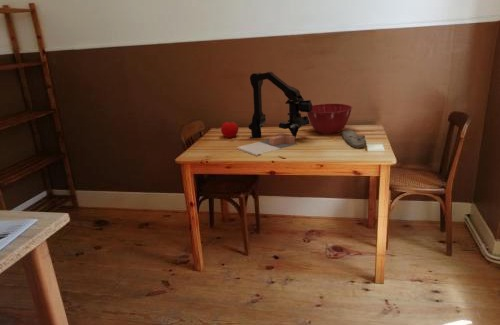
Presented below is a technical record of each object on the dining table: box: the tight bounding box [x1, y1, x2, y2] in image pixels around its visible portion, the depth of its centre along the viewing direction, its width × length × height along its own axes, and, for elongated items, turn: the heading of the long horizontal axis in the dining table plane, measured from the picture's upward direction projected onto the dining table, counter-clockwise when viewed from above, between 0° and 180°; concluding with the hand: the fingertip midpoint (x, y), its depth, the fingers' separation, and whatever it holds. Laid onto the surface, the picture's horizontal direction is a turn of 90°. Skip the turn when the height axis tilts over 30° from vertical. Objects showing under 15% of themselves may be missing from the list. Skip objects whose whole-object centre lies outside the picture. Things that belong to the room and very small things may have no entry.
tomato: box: [220, 120, 239, 139], centre depth 246 cm, size 11×13×10 cm
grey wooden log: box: [340, 129, 367, 149], centre depth 222 cm, size 35×5×10 cm
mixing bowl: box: [306, 103, 353, 135], centre depth 243 cm, size 28×28×15 cm
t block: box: [268, 132, 296, 146], centre depth 221 cm, size 12×12×4 cm
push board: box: [236, 139, 298, 157], centre depth 219 cm, size 20×29×1 cm
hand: (294, 137), depth 227 cm, fingers closed
